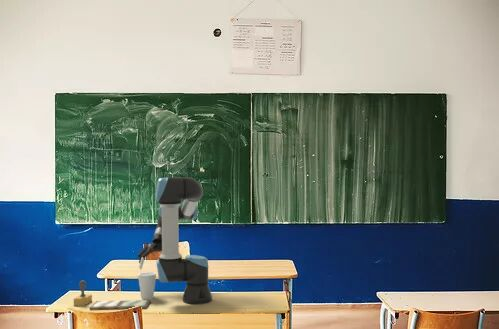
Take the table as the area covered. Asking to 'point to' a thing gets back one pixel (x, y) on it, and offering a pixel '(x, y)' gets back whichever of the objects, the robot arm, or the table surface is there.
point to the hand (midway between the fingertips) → (151, 268)
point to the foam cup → (147, 284)
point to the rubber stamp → (82, 296)
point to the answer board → (119, 304)
